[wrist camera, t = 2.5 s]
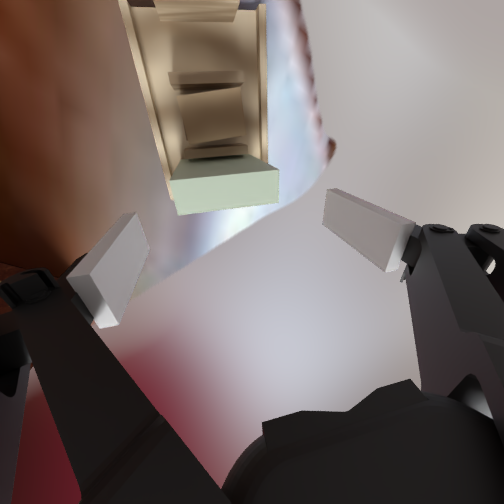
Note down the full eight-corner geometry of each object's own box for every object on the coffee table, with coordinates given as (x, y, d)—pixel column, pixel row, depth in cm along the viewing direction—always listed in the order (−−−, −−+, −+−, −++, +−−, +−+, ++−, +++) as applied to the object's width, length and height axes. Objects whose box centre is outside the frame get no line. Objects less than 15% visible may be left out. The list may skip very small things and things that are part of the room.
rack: (263, 185, 35) (276, 197, 29) (172, 195, 33) (167, 210, 27) (260, 14, 24) (279, -21, 19) (125, 11, 22) (99, -31, 16)
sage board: (180, 159, 30) (169, 180, 18) (248, 153, 31) (279, 169, 19) (185, 182, 31) (178, 215, 20) (250, 175, 33) (278, 202, 21)
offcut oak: (178, 99, 23) (176, 96, 21) (235, 91, 24) (240, 86, 21) (190, 143, 26) (189, 144, 23) (241, 134, 27) (246, 134, 24)
